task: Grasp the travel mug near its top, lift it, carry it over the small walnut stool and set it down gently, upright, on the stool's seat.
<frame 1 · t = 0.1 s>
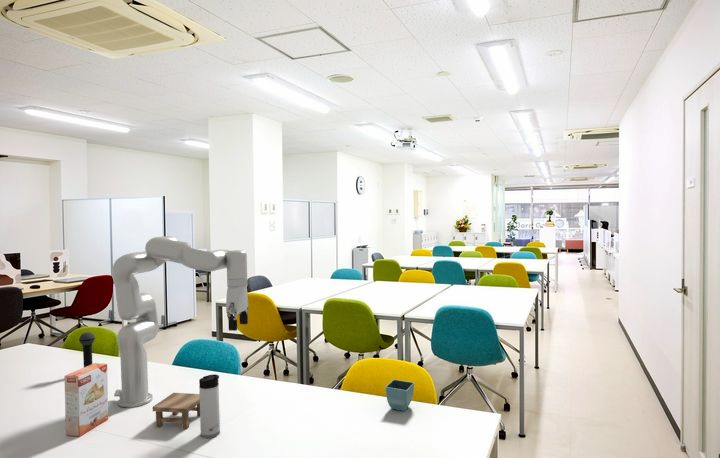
hand: (238, 327, 177), 31 cm above the table, fingers open, 9 cm apart
travel mug: (210, 434, 157), on the table
microphone: (88, 374, 220), on the table
flower pot: (400, 408, 175), on the table
cracker box: (88, 428, 163), on the table
stool: (180, 420, 167), on the table
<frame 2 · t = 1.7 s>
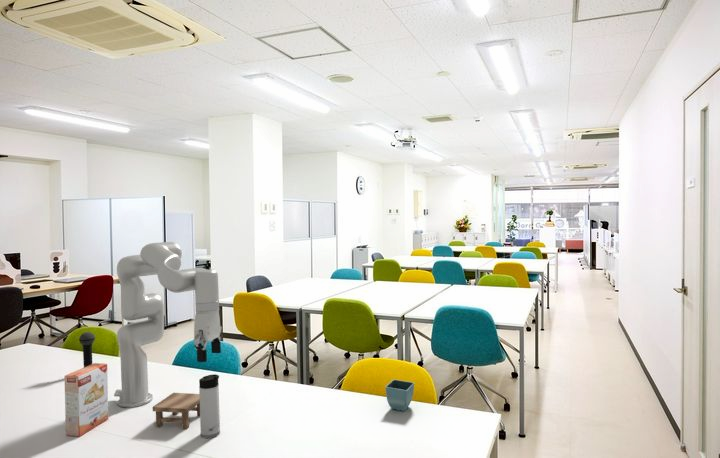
hand: (209, 357, 156), 26 cm above the table, fingers open, 9 cm apart
nothing on the table moved.
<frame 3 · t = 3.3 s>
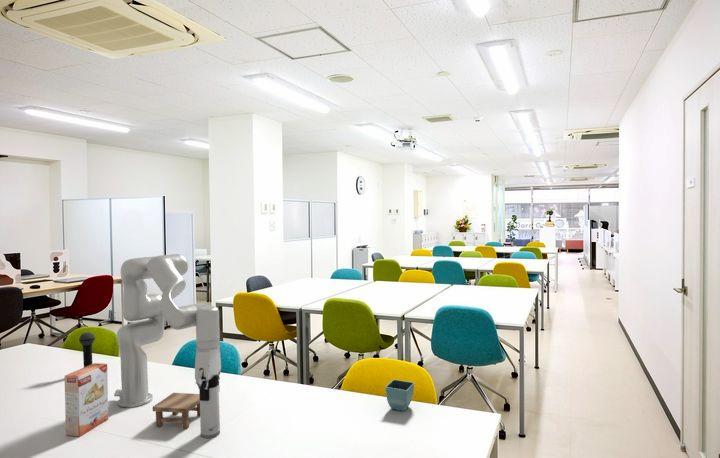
hand: (209, 395, 156), 13 cm above the table, fingers closed on travel mug, 6 cm apart
travel mug: (210, 434, 157), on the table, touching gripper
everything else where it was.
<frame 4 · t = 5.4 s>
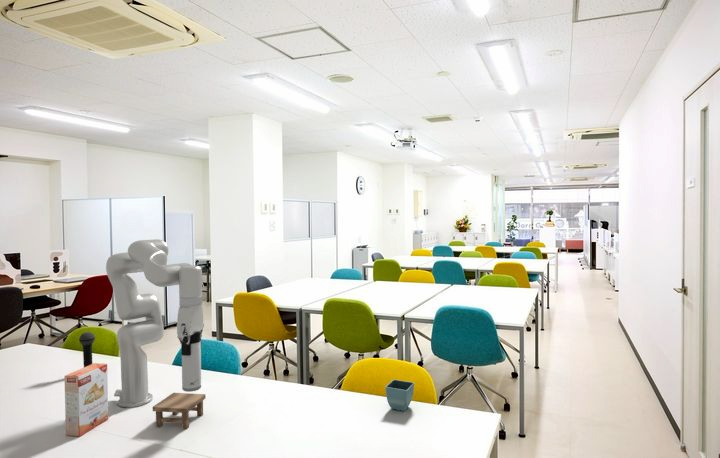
hand: (191, 351, 162), 27 cm above the table, fingers closed on travel mug, 6 cm apart
travel mug: (192, 388, 162), point 13 cm above the table, touching gripper
everything else where it was.
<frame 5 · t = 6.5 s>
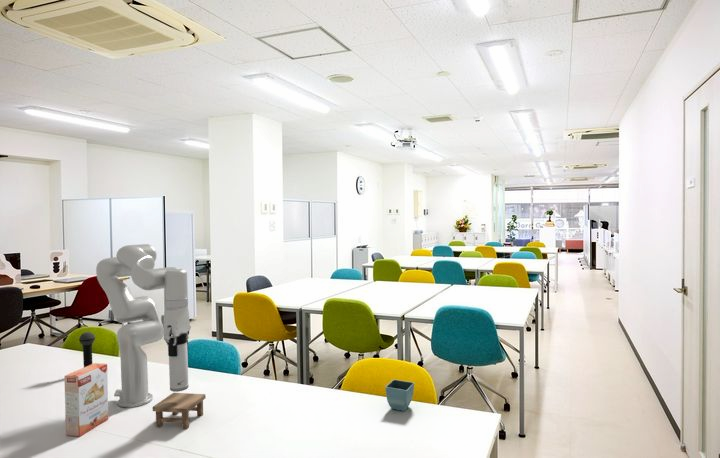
hand: (178, 352, 166), 25 cm above the table, fingers closed on travel mug, 6 cm apart
travel mug: (179, 389, 167), point 12 cm above the table, touching gripper
everything else where it was.
when the fingers open (22 cm above the table, at t = 7.4 s): travel mug drops 1 cm, resting on stool.
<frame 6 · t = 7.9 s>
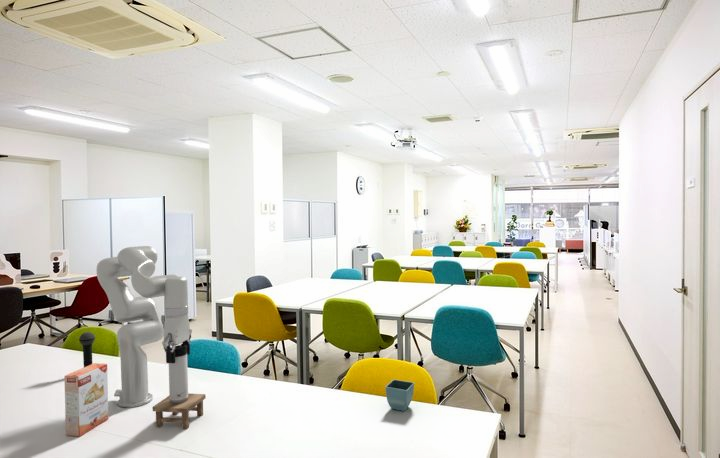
hand: (178, 358, 167), 23 cm above the table, fingers open, 9 cm apart
travel mug: (179, 400, 167), point 7 cm above the table, touching stool
everything else where it was.
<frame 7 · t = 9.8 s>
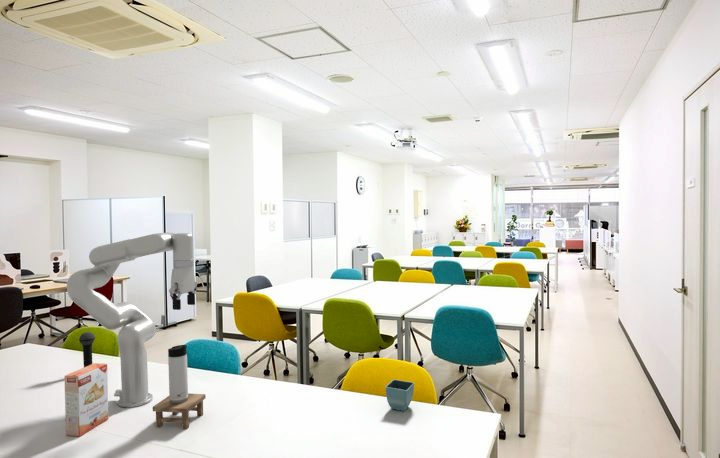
hand: (184, 307, 184), 38 cm above the table, fingers open, 9 cm apart
nothing on the table moved.
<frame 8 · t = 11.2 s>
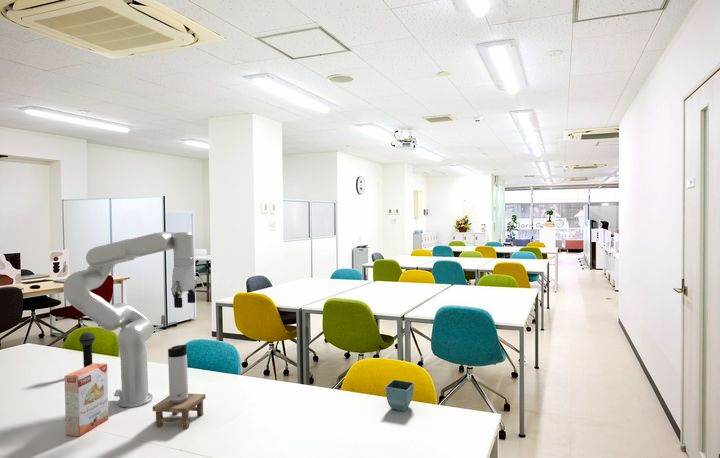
hand: (185, 305, 186), 38 cm above the table, fingers open, 9 cm apart
nothing on the table moved.
at the end: travel mug inside the target area on the stool (0.2 cm from its centre), point 7.3 cm above the stool's base; travel mug tilted 0°; the gripper is holding nothing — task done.
